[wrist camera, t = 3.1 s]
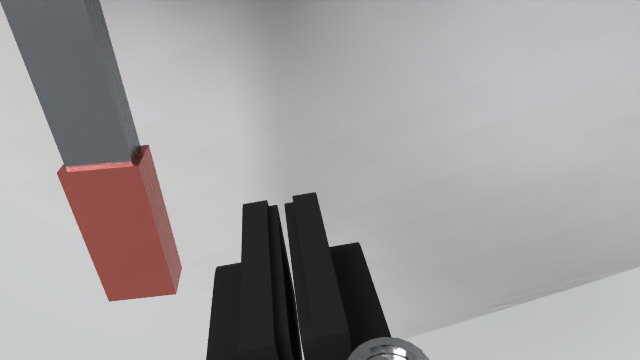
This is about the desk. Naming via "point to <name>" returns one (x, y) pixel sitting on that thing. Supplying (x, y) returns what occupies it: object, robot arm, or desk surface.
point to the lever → (98, 145)
